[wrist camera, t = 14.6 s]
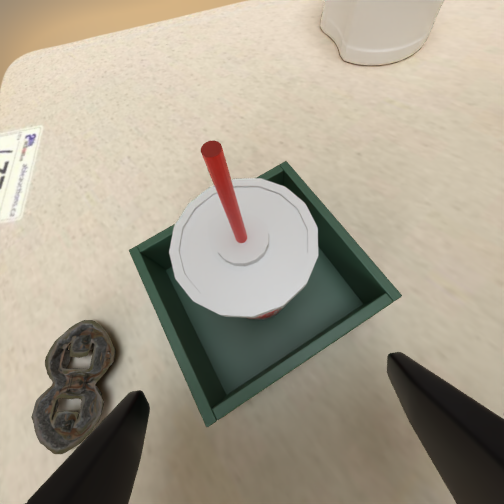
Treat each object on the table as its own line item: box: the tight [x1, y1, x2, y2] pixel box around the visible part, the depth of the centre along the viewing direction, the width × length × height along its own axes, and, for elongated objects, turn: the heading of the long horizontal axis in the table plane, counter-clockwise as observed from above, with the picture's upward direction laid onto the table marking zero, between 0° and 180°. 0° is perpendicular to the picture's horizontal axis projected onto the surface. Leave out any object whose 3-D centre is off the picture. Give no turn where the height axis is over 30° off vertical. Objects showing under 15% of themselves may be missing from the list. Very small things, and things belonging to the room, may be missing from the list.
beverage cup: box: [169, 141, 318, 320], centre depth 12 cm, size 6×6×14 cm
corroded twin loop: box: [32, 320, 115, 454], centre depth 17 cm, size 5×8×1 cm, turn 1°
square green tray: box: [129, 161, 402, 427], centre depth 17 cm, size 12×11×4 cm
